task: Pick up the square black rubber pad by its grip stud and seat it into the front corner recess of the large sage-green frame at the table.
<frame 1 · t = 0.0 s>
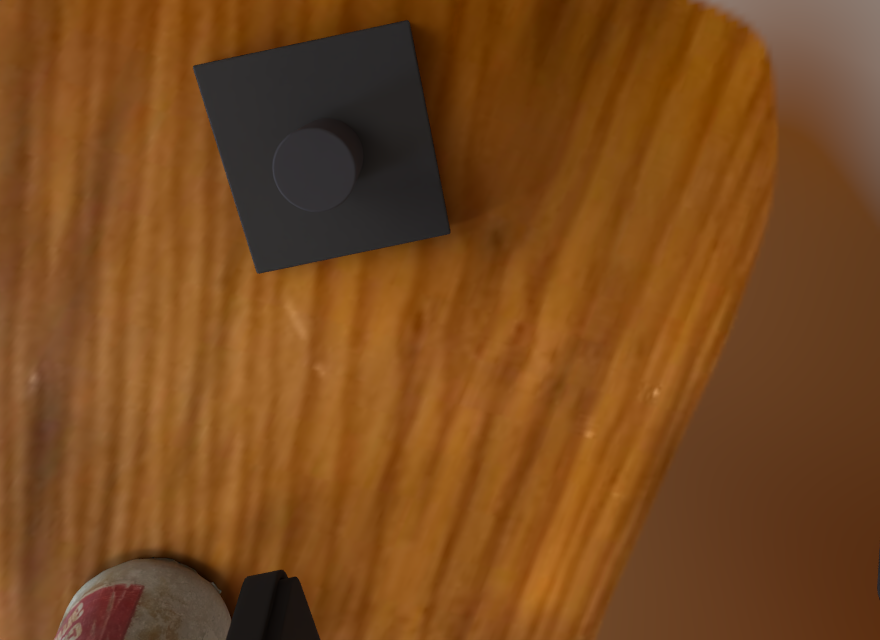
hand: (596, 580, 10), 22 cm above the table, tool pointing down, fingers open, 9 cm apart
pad: (331, 151, 29), on the table
bottle: (161, 609, 38), on the table
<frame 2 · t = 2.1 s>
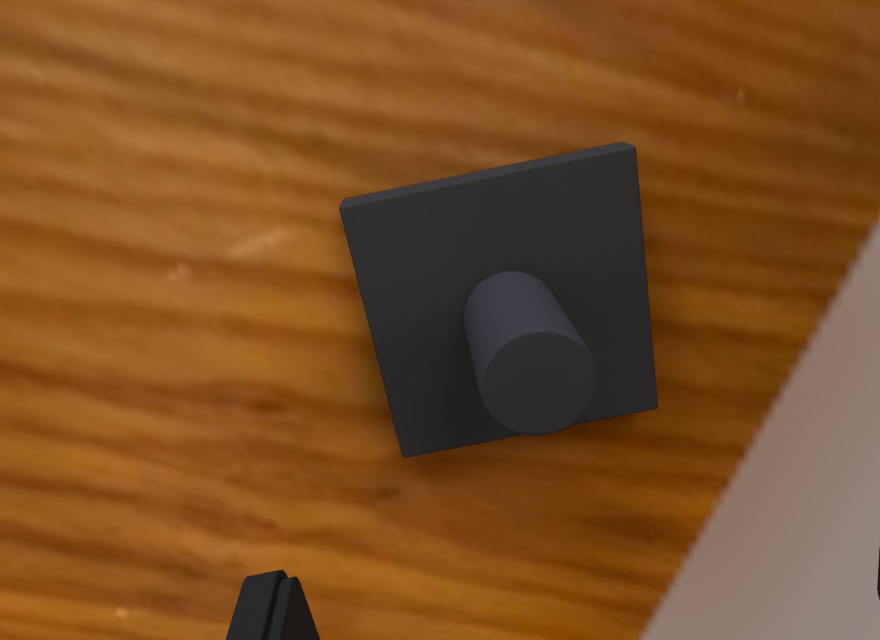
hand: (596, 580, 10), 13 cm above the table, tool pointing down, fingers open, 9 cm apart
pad: (504, 302, 22), on the table
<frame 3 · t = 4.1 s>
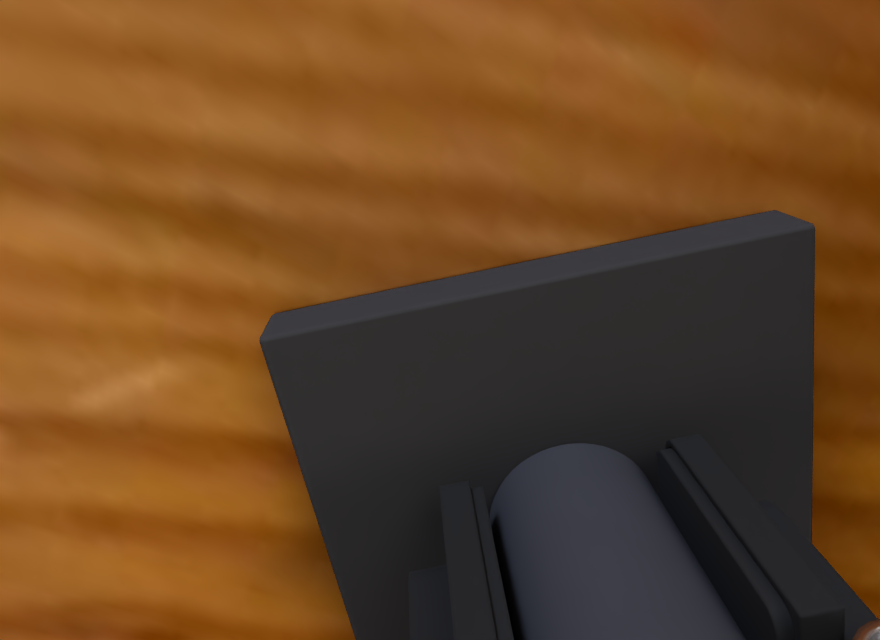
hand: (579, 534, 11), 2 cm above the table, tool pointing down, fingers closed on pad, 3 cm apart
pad: (555, 474, 13), on the table, touching gripper
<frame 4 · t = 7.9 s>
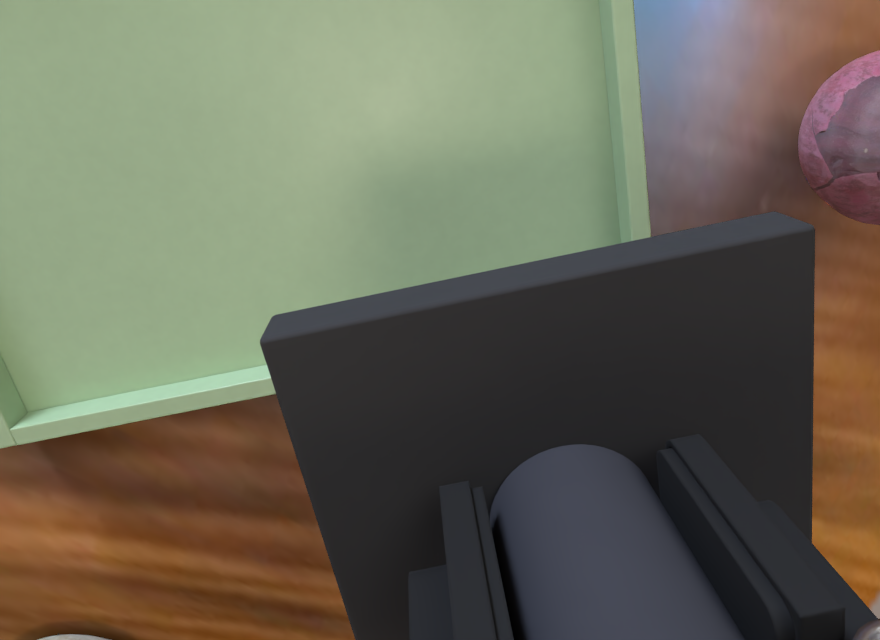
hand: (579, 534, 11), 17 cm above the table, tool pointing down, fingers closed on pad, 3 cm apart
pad: (555, 475, 13), point 15 cm above the table, touching gripper
frame: (253, 82, 25), on the table
vegetable: (827, 128, 27), on the table
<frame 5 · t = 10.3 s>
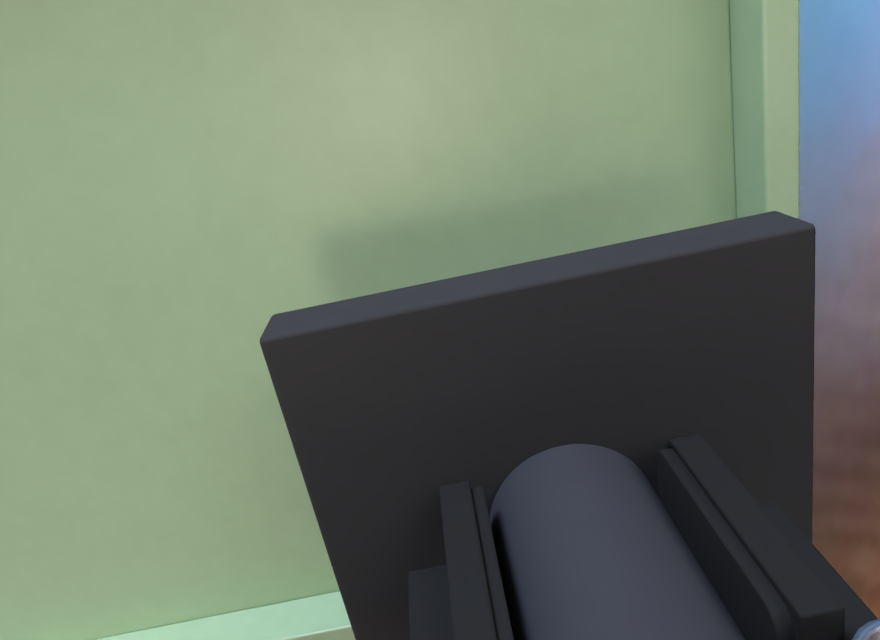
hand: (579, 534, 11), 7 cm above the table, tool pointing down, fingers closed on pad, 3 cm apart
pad: (555, 475, 13), point 5 cm above the table, touching gripper
frame: (211, 242, 16), on the table
when the fingers open (2 cm above the table, at t = 11.7 s): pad stays where it is, resting on frame.
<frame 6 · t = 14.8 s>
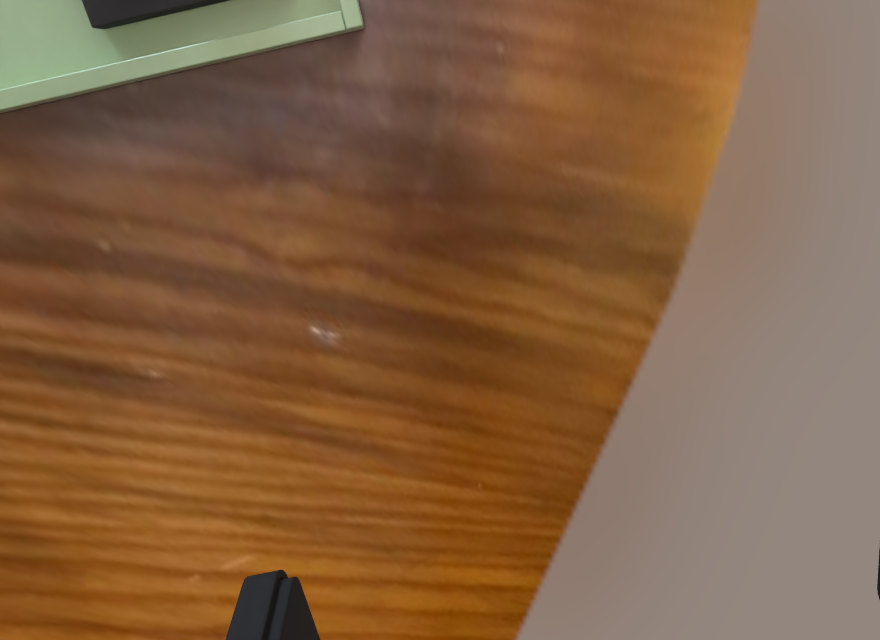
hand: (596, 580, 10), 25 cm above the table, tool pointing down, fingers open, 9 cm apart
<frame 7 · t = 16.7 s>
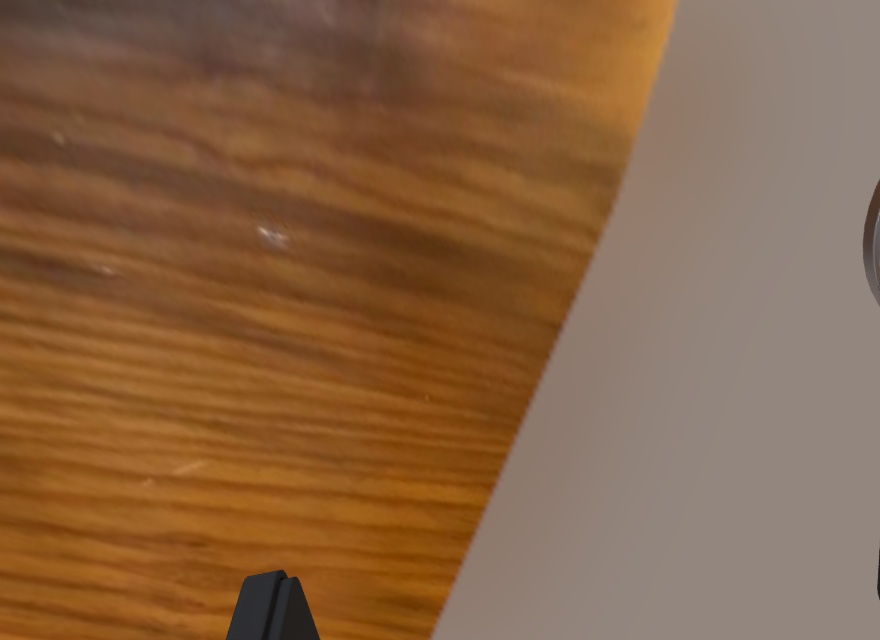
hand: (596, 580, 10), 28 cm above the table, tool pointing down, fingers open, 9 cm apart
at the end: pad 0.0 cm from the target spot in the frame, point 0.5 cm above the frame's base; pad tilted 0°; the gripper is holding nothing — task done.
